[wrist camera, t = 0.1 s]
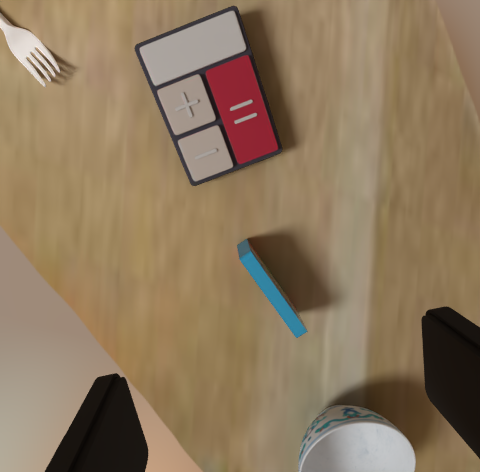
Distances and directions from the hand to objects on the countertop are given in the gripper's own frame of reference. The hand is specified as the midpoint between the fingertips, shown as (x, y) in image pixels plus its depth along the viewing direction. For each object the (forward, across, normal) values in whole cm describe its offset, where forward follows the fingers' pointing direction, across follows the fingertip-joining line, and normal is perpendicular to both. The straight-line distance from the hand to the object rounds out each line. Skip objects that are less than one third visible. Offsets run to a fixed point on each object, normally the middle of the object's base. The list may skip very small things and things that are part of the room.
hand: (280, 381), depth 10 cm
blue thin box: (+32, -2, +10) cm, 33 cm away
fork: (+32, +21, -26) cm, 46 cm away
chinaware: (+31, -9, +34) cm, 47 cm away
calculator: (+32, 0, -12) cm, 34 cm away
